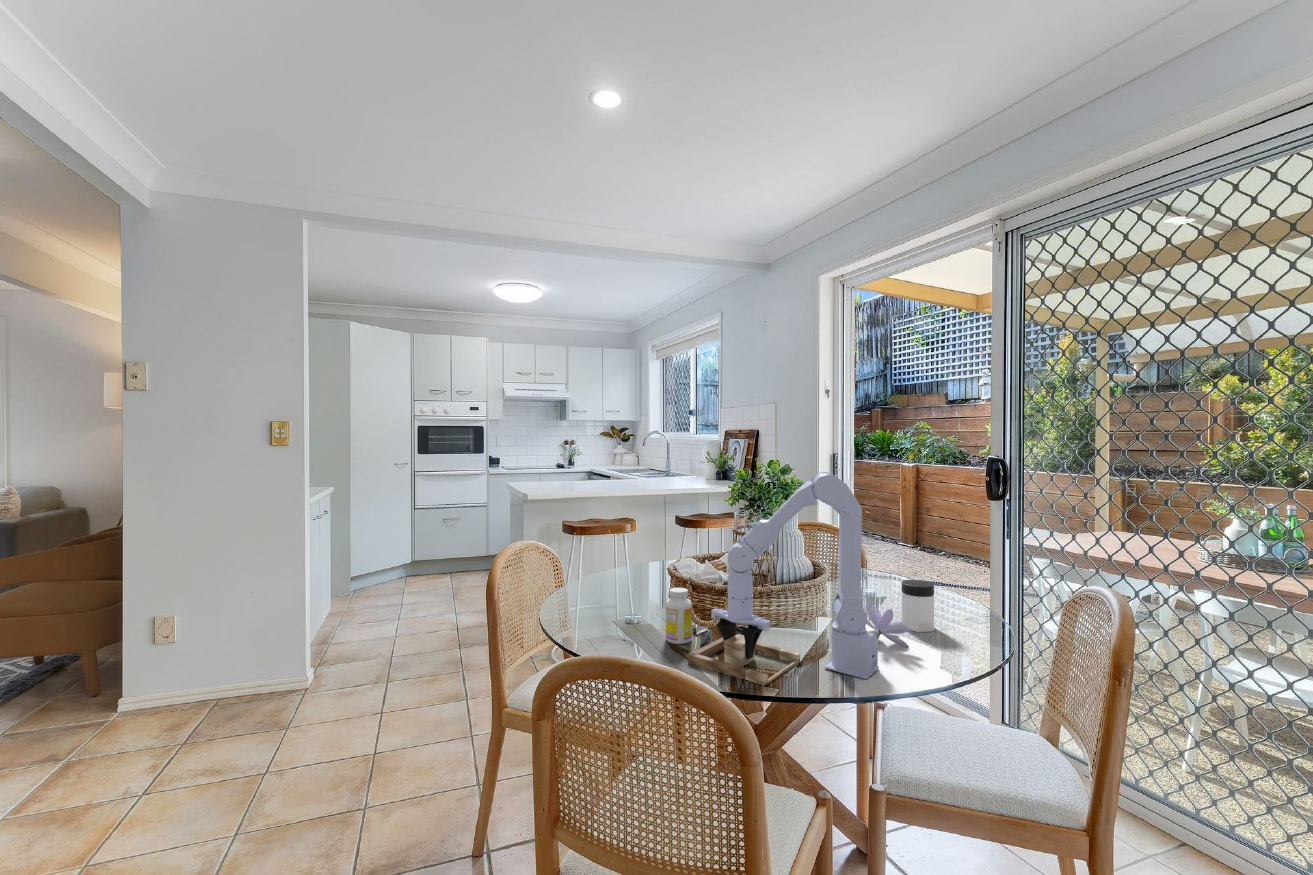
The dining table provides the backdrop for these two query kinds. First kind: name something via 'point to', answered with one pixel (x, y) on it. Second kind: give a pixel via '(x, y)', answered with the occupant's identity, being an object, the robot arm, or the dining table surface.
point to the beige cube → (736, 651)
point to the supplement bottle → (678, 617)
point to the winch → (703, 636)
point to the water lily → (886, 625)
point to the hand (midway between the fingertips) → (739, 654)
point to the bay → (703, 660)
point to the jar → (918, 605)
